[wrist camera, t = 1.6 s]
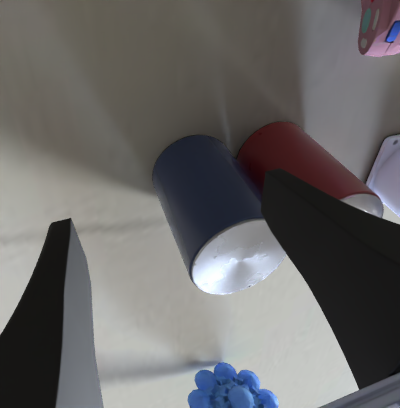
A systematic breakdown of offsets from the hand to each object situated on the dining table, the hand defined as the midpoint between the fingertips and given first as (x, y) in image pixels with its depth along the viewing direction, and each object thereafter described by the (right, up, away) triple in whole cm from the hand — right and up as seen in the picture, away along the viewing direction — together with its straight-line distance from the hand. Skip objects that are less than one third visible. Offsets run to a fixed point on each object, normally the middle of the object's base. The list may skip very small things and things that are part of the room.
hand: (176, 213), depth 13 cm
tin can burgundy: (+6, +4, +14) cm, 16 cm away
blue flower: (+4, -21, +35) cm, 41 cm away
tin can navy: (0, +3, +12) cm, 13 cm away
